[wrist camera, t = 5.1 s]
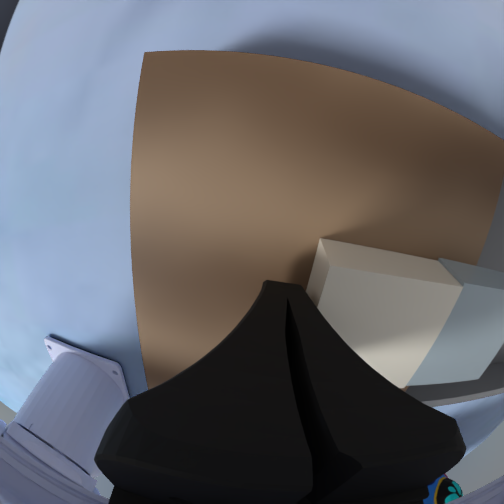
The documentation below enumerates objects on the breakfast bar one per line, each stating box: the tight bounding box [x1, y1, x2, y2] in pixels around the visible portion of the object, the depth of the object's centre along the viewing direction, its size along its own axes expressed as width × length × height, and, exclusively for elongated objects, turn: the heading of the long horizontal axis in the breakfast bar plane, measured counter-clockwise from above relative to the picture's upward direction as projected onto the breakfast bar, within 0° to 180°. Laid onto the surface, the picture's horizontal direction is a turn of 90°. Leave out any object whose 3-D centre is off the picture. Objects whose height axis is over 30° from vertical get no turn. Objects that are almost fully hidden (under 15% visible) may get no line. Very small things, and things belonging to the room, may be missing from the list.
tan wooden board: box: [130, 50, 504, 392], centre depth 12 cm, size 16×14×4 cm
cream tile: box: [306, 238, 463, 388], centre depth 9 cm, size 5×5×2 cm
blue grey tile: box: [406, 258, 504, 386], centre depth 9 cm, size 5×5×2 cm
